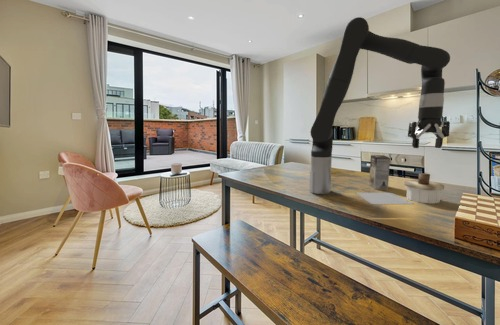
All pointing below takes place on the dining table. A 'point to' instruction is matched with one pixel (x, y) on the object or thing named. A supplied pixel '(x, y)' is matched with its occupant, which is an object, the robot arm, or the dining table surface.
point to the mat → (383, 198)
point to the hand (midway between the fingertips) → (426, 147)
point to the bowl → (423, 195)
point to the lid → (424, 183)
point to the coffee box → (379, 172)
